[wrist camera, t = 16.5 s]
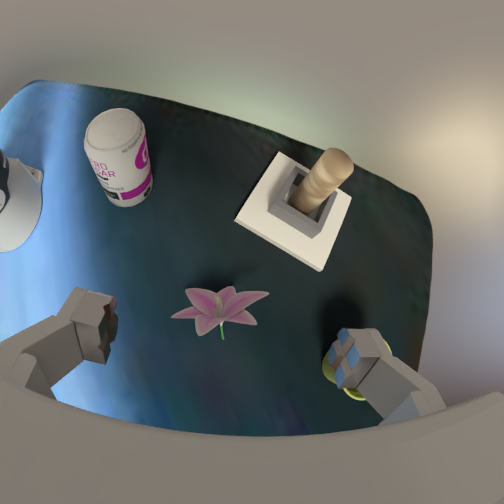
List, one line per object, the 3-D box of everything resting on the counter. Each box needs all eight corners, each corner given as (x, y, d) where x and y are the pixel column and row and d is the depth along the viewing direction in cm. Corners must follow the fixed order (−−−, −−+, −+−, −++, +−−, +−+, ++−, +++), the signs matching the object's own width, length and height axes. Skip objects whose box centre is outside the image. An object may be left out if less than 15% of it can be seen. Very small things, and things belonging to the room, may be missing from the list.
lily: (269, 304, 43) (272, 263, 36) (255, 374, 35) (255, 346, 28) (196, 291, 45) (185, 250, 38) (172, 356, 37) (152, 324, 30)
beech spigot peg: (283, 209, 46) (319, 163, 33) (293, 190, 47) (329, 142, 34) (305, 223, 46) (348, 182, 33) (315, 203, 47) (356, 160, 34)
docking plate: (234, 221, 44) (239, 208, 40) (276, 155, 50) (284, 140, 46) (319, 271, 45) (332, 265, 41) (348, 200, 51) (361, 189, 46)
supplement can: (156, 166, 44) (149, 104, 30) (149, 210, 42) (135, 155, 28) (112, 165, 43) (92, 106, 28) (102, 208, 40) (72, 155, 26)
